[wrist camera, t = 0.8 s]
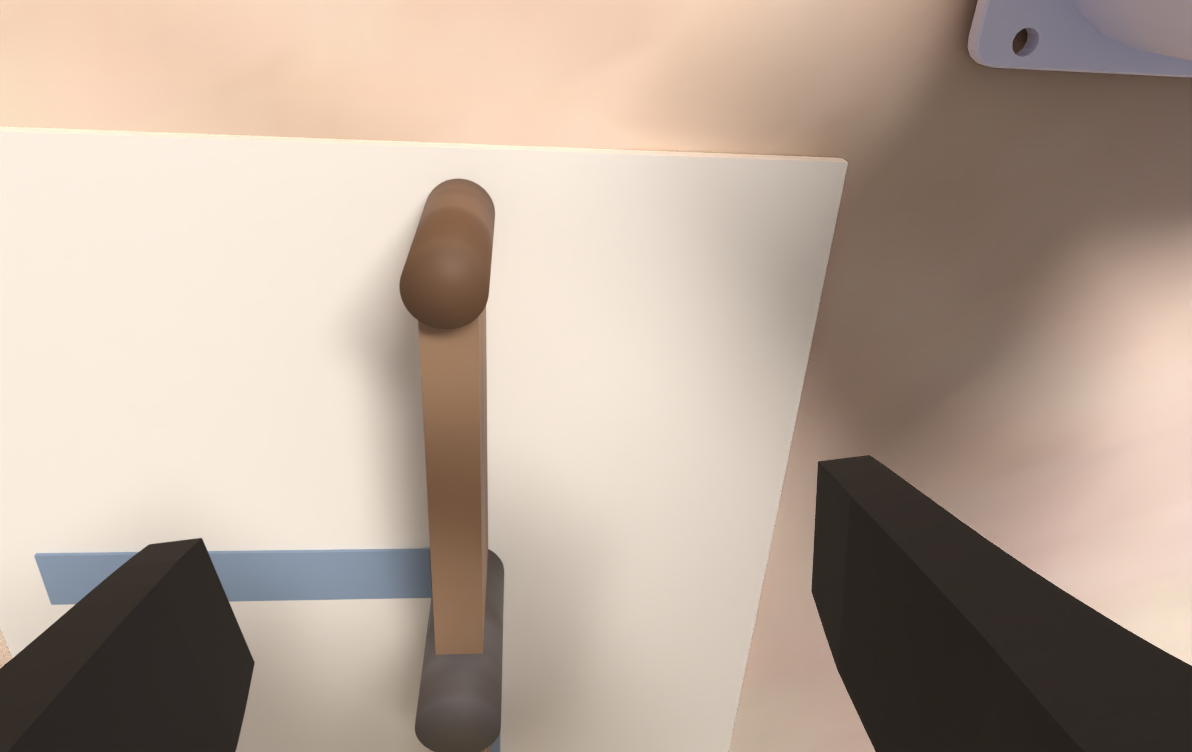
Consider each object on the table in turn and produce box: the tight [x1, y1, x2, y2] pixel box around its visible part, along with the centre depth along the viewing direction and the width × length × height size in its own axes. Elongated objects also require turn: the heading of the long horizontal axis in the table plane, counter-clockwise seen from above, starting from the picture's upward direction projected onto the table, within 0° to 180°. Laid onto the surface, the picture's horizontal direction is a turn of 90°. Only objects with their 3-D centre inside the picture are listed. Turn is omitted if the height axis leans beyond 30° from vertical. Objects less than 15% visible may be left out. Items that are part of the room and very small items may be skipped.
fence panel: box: [399, 179, 495, 655], centre depth 16 cm, size 9×1×4 cm, turn 177°
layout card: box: [0, 126, 848, 752], centre depth 21 cm, size 20×22×1 cm
